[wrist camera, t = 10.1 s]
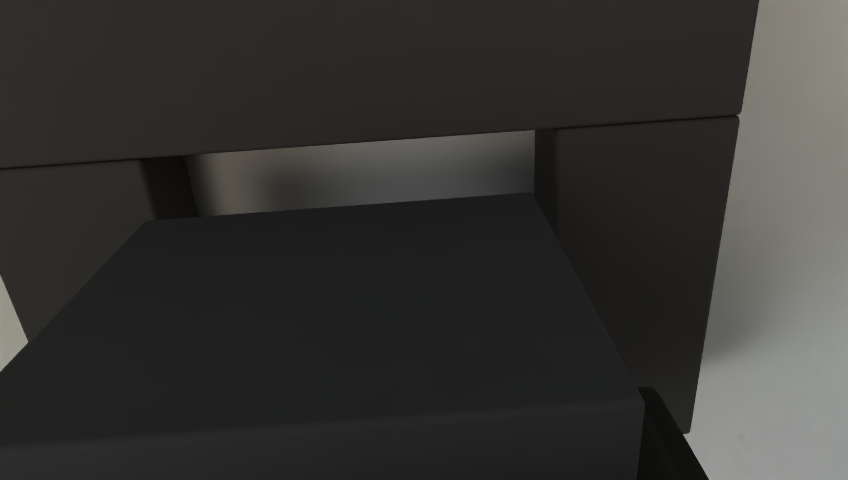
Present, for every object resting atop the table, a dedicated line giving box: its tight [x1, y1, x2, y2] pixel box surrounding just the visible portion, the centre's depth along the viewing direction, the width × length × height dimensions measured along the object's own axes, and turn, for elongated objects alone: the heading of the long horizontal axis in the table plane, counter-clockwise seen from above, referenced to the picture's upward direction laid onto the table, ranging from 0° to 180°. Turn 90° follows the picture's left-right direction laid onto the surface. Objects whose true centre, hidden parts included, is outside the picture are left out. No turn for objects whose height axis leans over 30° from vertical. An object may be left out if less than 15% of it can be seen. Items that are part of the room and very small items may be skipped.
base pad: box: [0, 0, 759, 434], centre depth 12 cm, size 14×14×2 cm
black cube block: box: [0, 193, 645, 480], centre depth 9 cm, size 6×6×5 cm
